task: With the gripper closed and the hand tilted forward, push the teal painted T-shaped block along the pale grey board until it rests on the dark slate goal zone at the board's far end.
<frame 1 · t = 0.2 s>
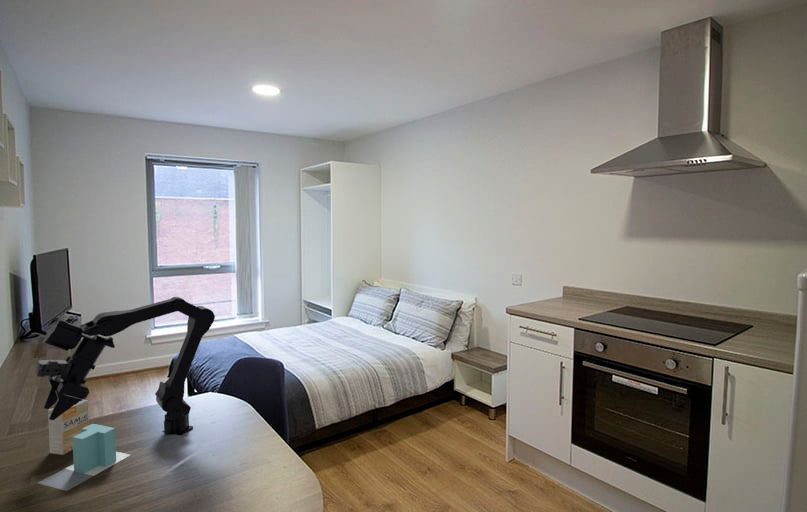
hand: (48, 413, 113), 15 cm above the table, tool tilted 30°, fingers open, 9 cm apart
supplement box: (70, 450, 124), on the table
t block: (92, 464, 114), point 1 cm above the table, touching board
board: (86, 470, 113), on the table
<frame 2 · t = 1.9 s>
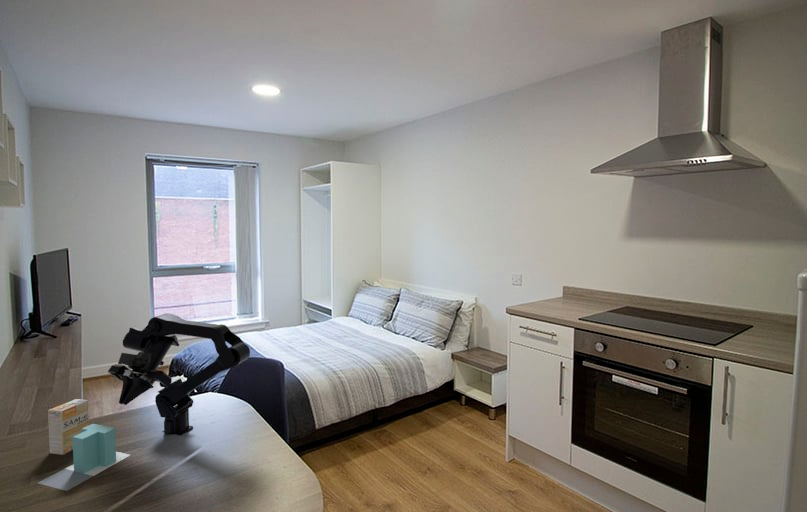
hand: (122, 404, 122), 14 cm above the table, tool tilted 45°, fingers closed
nothing on the table moved.
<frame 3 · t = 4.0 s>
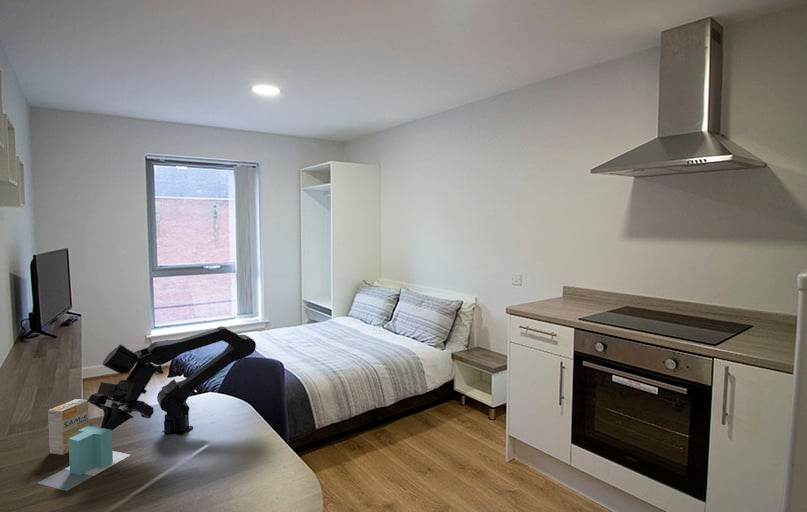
hand: (100, 436, 117), 7 cm above the table, tool tilted 45°, fingers closed, pressing on t block
t block: (88, 466, 113), point 1 cm above the table, touching gripper
everything else where it was.
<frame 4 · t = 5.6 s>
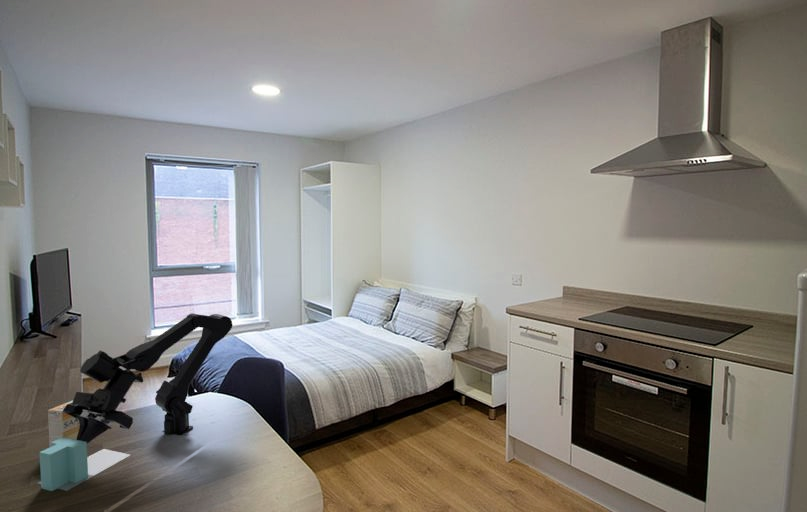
hand: (76, 448, 110), 7 cm above the table, tool tilted 45°, fingers closed, pressing on t block
t block: (62, 481, 107), point 1 cm above the table, touching board, gripper
everything else where it was.
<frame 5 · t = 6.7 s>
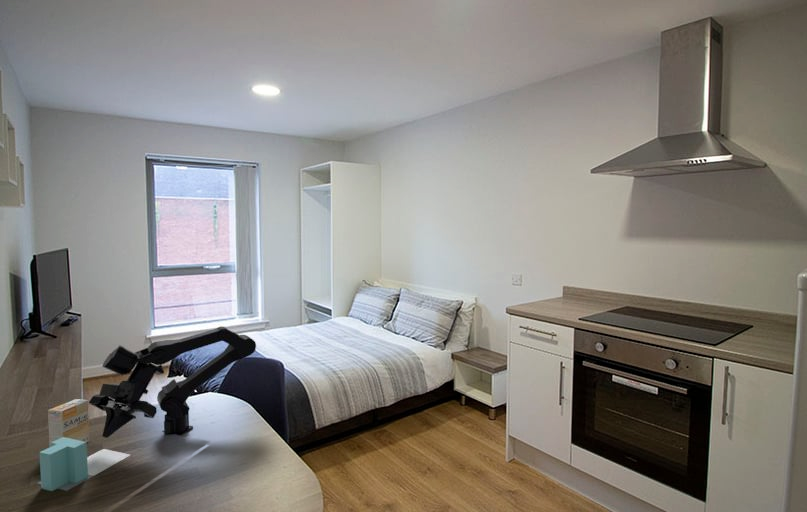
hand: (104, 437, 117), 7 cm above the table, tool tilted 45°, fingers closed
t block: (61, 481, 107), point 1 cm above the table, touching board
everything else where it was.
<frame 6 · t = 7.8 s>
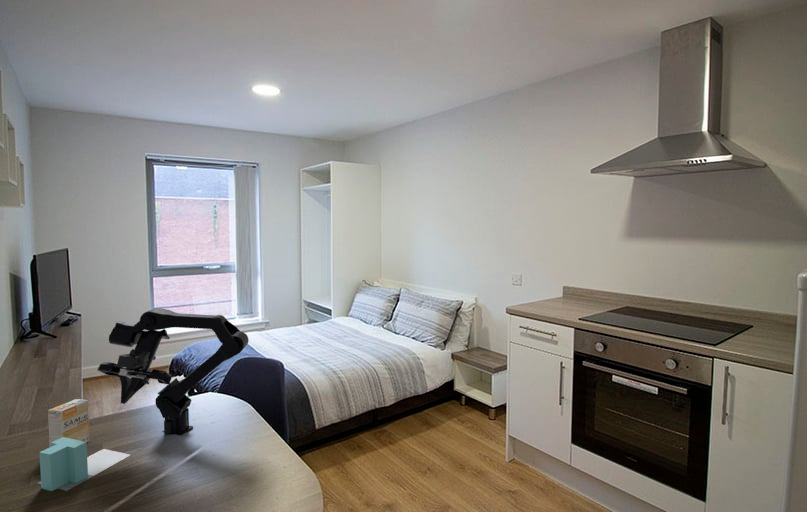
hand: (122, 403, 123), 13 cm above the table, tool tilted 35°, fingers closed
nothing on the table moved.
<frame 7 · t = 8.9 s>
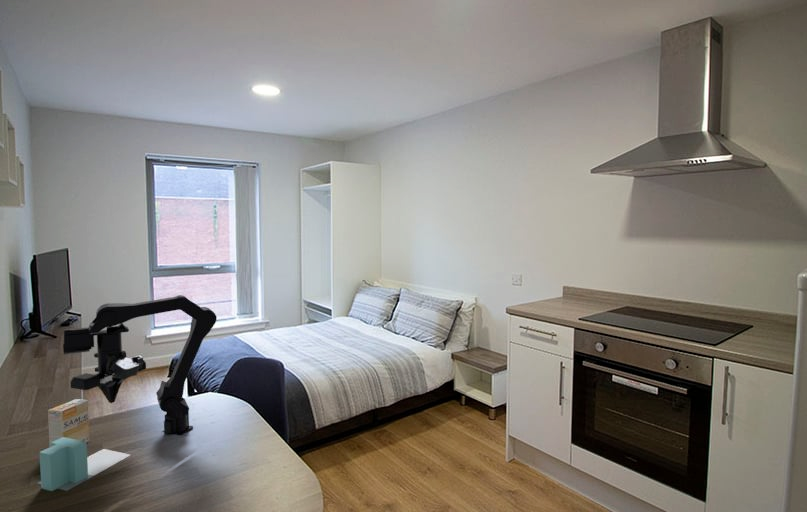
hand: (111, 402, 124), 13 cm above the table, tool pointing down, fingers closed
nothing on the table moved.
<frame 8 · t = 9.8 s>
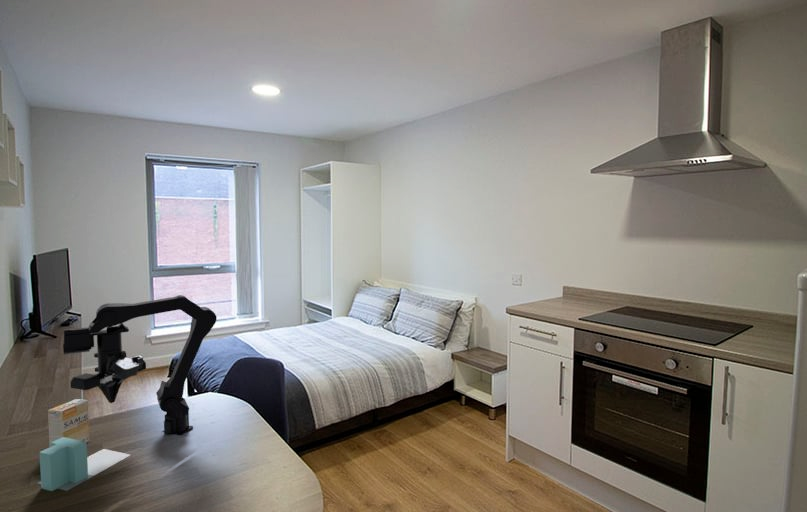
hand: (111, 402, 124), 13 cm above the table, tool pointing down, fingers closed
nothing on the table moved.
at the end: t block inside the target area (0.6 cm from its centre), point 0.7 cm above the table; t block tilted 0°; t block touching board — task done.
